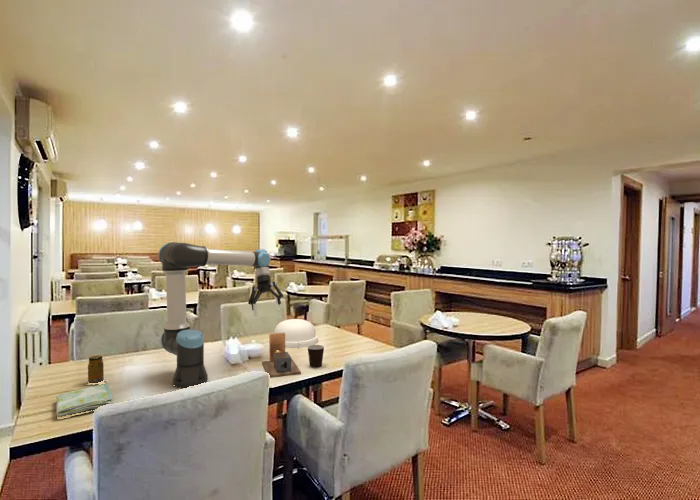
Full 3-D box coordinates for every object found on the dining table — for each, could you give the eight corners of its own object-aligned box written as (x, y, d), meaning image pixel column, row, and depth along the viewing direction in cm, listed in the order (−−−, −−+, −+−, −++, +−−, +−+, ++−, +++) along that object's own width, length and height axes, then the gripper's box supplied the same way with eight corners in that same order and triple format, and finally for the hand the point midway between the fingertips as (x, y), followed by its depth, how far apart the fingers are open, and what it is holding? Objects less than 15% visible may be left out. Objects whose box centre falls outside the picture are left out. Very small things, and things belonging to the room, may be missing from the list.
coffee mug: (321, 369, 204) (321, 349, 203) (305, 367, 206) (305, 348, 205) (327, 362, 215) (327, 343, 215) (311, 360, 217) (312, 342, 217)
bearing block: (277, 372, 194) (277, 358, 194) (273, 366, 203) (273, 353, 203) (291, 371, 197) (291, 357, 196) (287, 365, 206) (287, 351, 206)
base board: (268, 377, 191) (268, 375, 191) (262, 363, 211) (262, 361, 211) (301, 374, 196) (301, 371, 196) (291, 360, 217) (291, 358, 217)
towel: (55, 422, 145) (55, 409, 144) (56, 402, 162) (56, 390, 162) (113, 410, 155) (113, 397, 155) (108, 392, 172) (108, 381, 172)
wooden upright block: (274, 368, 199) (274, 341, 198) (269, 359, 214) (269, 333, 213) (290, 367, 201) (290, 340, 201) (284, 357, 216) (284, 332, 216)
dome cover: (268, 337, 267) (268, 316, 266) (312, 334, 276) (312, 314, 275) (274, 350, 236) (274, 327, 236) (323, 346, 245) (323, 324, 244)
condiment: (92, 380, 186) (92, 354, 185) (111, 379, 187) (111, 354, 186) (83, 386, 178) (83, 359, 178) (103, 385, 179) (103, 359, 179)
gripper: (286, 272, 224) (290, 309, 217) (246, 282, 229) (250, 319, 222) (280, 269, 217) (285, 307, 210) (240, 280, 222) (243, 317, 215)
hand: (267, 313), depth 216 cm, fingers open, 13 cm apart
